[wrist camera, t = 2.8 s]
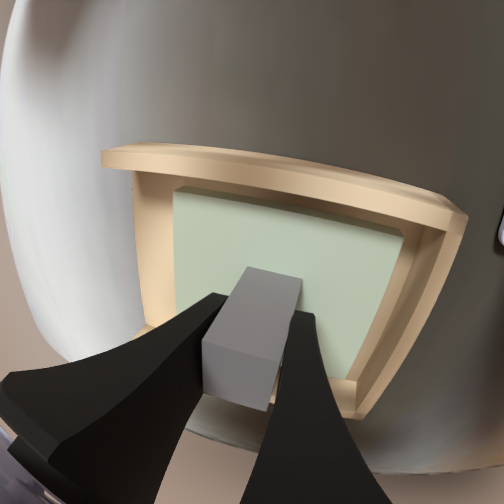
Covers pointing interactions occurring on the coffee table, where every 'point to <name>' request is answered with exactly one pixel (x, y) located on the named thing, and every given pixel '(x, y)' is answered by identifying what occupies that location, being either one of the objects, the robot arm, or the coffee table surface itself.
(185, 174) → the box
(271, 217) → the cover plate
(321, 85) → the coffee table surface
